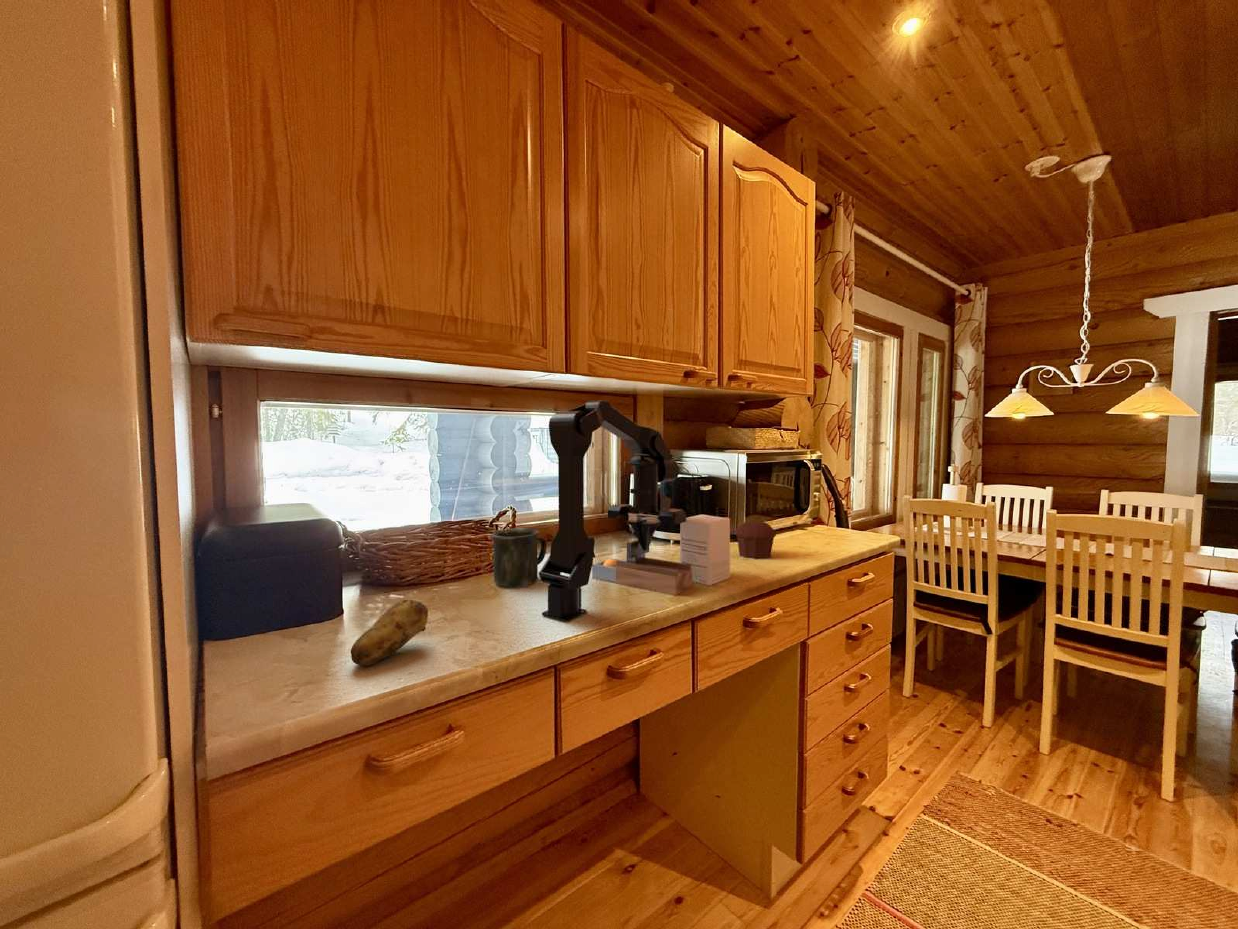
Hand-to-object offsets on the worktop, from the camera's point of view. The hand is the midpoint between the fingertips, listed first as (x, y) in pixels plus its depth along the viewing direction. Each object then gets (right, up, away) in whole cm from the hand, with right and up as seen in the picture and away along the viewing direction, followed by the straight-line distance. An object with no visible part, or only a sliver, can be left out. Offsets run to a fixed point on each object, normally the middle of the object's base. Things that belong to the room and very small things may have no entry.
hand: (645, 550), depth 123 cm
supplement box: (+15, -8, +5) cm, 17 cm away
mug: (-30, -8, +3) cm, 31 cm away
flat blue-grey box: (-7, -8, +6) cm, 12 cm away
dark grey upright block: (-2, -4, +2) cm, 5 cm away
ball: (-8, -5, +6) cm, 12 cm away
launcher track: (+2, -8, -1) cm, 8 cm away
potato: (-43, -11, -39) cm, 59 cm away
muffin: (+33, -6, +29) cm, 44 cm away
